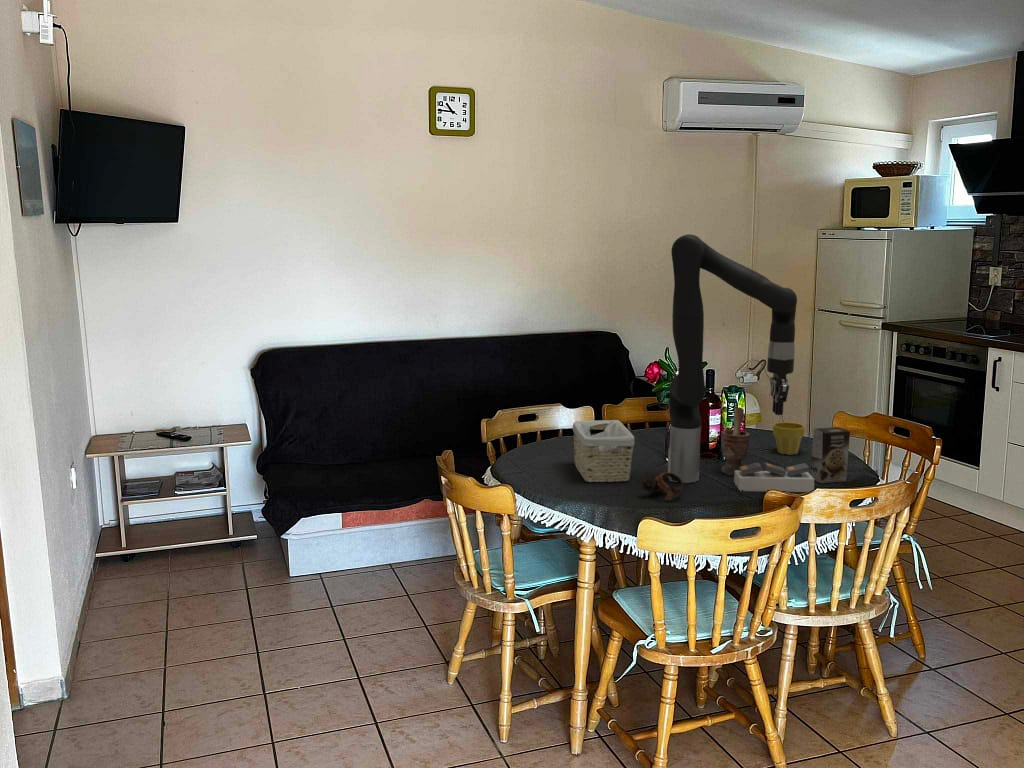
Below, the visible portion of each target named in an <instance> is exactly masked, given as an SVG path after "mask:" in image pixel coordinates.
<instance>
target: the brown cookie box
mask: <svg viewBox="0 0 1024 768" xmlns="http://www.w3.org/2000/svg"><path fill="white" fill-rule="evenodd" d="M812 436H813V437H812V438H813V439H812V448H811V460H810V472H809V474H810V475H811V476H812V477H813V478H814V481H816V482H818V483H819V484H829V483H839V482H841V483H842V482H846V481H847V475H848V474H847V471H848V461H849V449H850V447H849V446H850V438H851V437H850V436H851V431H850V430H847V429H844V428H841V427H839V426H838V427H837V426H836V427H819V428H816V427H815V428H814V429H813V435H812Z"/></svg>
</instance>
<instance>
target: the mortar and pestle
mask: <svg viewBox="0 0 1024 768" xmlns="http://www.w3.org/2000/svg"><path fill="white" fill-rule="evenodd" d="M734 410H735V411H734V423H733V426H734V427H733V429H725V430H724V429H723V430H722V431H721V444H720V446H721V447H720V448H721V453H722V456H723V458H725V460H726V463H725V464H723V465H722V467H721V470H720V471H721V472H722V473H723V474H726V475H727V474H729V475H728V476H734V472H735V470H738V471H740V469H739V467H740V466H743V465H742V461H743V460H744V459H745V458H746V457H747V454H748V450H749V443H750V433H749V432H747V431H745V430H741V429H742V428H741V426H742V422H743V419H744V415H745V410H744V407H743V408H742V407H736V408H735V409H734Z"/></svg>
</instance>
